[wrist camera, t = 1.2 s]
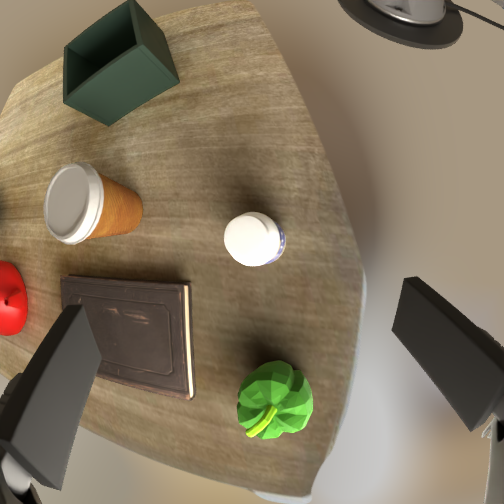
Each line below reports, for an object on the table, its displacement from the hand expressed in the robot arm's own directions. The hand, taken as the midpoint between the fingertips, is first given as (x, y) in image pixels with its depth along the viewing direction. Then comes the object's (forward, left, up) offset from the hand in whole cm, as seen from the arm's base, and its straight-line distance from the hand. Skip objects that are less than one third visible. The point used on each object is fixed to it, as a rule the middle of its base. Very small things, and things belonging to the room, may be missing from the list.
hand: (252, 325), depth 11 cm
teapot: (+54, -13, -24) cm, 61 cm away
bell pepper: (+6, +12, -24) cm, 27 cm away
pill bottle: (+2, -5, -24) cm, 24 cm away
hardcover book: (+26, 0, -24) cm, 35 cm away
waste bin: (+12, -38, -23) cm, 46 cm away
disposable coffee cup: (+19, -16, -24) cm, 34 cm away
